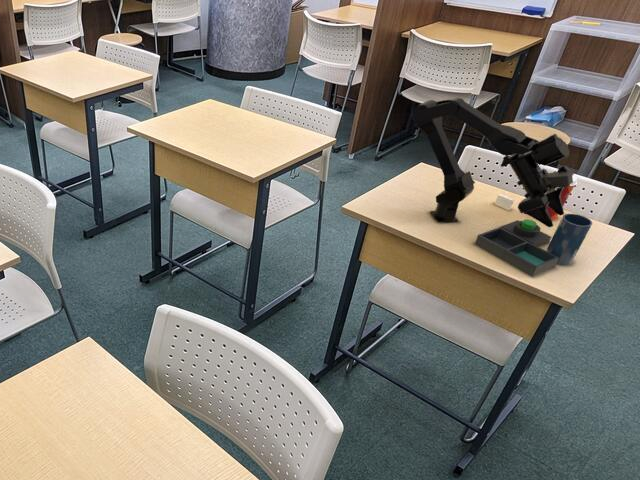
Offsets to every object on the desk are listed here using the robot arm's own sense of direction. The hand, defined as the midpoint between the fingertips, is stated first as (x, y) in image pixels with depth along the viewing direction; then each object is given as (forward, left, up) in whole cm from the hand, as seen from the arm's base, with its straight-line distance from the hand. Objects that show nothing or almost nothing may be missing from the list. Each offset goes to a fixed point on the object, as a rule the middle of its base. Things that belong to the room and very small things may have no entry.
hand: (556, 220), depth 153 cm
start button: (-8, -1, -7) cm, 11 cm away
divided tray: (+1, -9, -11) cm, 14 cm away
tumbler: (+3, +3, -11) cm, 12 cm away
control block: (-8, -1, -11) cm, 14 cm away
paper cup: (-21, +13, -11) cm, 27 cm away
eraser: (-27, +2, -11) cm, 29 cm away
